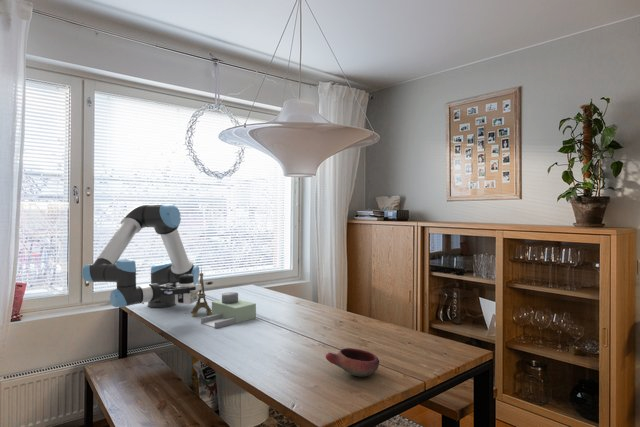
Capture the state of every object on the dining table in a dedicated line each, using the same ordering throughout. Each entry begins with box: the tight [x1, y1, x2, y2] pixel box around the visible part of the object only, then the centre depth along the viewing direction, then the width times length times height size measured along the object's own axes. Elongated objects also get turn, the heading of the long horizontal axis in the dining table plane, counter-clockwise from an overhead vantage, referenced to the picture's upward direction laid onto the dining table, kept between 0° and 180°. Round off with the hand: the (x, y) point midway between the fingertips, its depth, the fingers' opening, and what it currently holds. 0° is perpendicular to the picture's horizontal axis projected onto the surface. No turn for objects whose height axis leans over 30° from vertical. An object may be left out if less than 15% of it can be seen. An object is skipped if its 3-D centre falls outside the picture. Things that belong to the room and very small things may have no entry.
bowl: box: [325, 347, 380, 378], centre depth 133 cm, size 16×13×8 cm
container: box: [175, 275, 199, 305], centre depth 195 cm, size 8×8×13 cm
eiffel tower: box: [190, 266, 212, 318], centre depth 212 cm, size 11×11×25 cm
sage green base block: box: [200, 291, 257, 329], centre depth 201 cm, size 20×23×11 cm
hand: (194, 285), depth 198 cm, fingers closed on container, 10 cm apart
